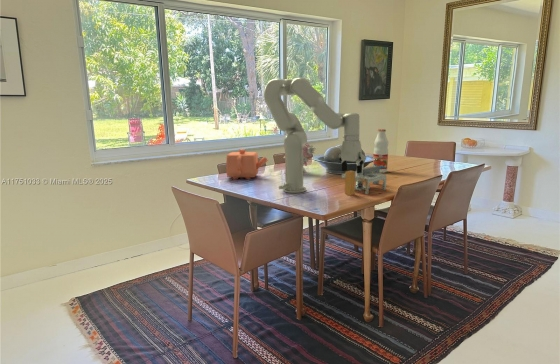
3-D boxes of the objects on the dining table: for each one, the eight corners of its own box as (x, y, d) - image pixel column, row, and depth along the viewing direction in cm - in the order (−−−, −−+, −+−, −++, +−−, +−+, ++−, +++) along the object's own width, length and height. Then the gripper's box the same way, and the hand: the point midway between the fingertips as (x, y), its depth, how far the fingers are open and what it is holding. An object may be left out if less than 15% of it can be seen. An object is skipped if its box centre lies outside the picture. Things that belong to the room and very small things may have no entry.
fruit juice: (387, 170, 252) (389, 128, 246) (386, 173, 243) (388, 130, 237) (373, 169, 255) (375, 128, 249) (371, 172, 247) (373, 129, 240)
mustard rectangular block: (350, 195, 191) (350, 172, 188) (344, 194, 194) (345, 171, 191) (354, 194, 193) (355, 171, 191) (349, 192, 196) (349, 170, 193)
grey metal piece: (367, 194, 192) (368, 159, 188) (341, 188, 205) (342, 156, 201) (385, 189, 202) (387, 156, 198) (360, 183, 215) (361, 153, 211)
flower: (271, 170, 251) (279, 139, 237) (293, 162, 265) (302, 132, 251) (291, 186, 241) (301, 155, 227) (313, 177, 255) (324, 147, 241)
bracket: (363, 187, 206) (364, 169, 204) (359, 187, 208) (360, 168, 206) (378, 183, 215) (379, 166, 212) (375, 183, 217) (376, 165, 214)
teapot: (270, 173, 247) (269, 147, 243) (265, 181, 225) (265, 152, 221) (233, 173, 249) (232, 147, 245) (225, 181, 227) (223, 152, 223)
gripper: (333, 138, 191) (334, 171, 195) (360, 139, 178) (360, 175, 182) (343, 136, 196) (343, 168, 199) (370, 138, 183) (370, 172, 186)
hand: (351, 171), depth 191 cm, fingers open, 9 cm apart
